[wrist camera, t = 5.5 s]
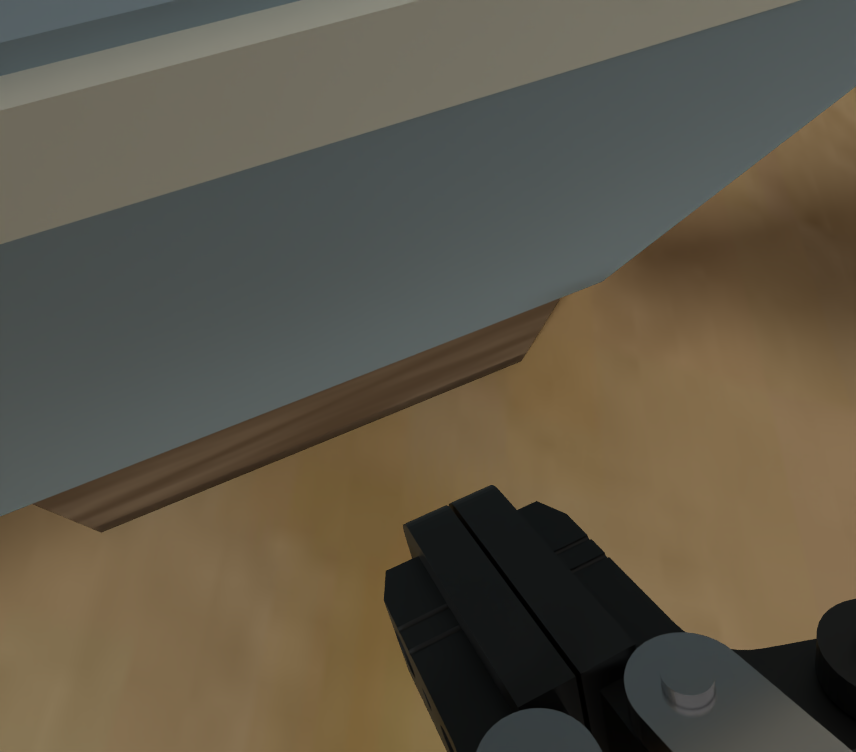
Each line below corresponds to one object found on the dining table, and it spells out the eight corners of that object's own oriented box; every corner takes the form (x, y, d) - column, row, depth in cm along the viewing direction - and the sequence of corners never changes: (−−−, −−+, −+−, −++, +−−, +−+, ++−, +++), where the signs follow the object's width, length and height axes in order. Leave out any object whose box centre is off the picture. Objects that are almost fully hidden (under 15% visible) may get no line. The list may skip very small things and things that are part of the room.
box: (521, 360, 31) (585, 257, 22) (101, 532, 26) (-15, 484, 18) (374, 82, 35) (382, -93, 27) (-6, 192, 31) (-139, 25, 22)
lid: (588, 252, 22) (604, 287, 22) (-21, 482, 18) (-5, 526, 18) (1273, -369, 6) (1342, -262, 6) (-2160, 281, 2) (-2161, 626, 2)
